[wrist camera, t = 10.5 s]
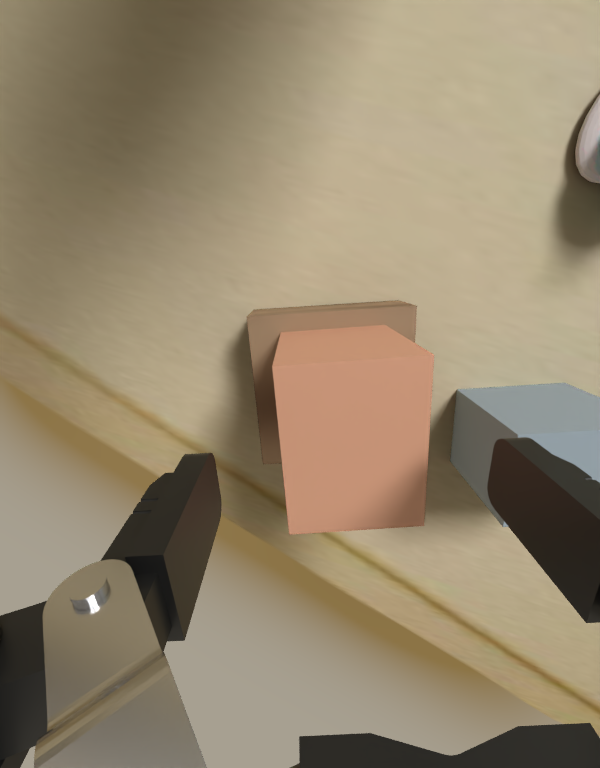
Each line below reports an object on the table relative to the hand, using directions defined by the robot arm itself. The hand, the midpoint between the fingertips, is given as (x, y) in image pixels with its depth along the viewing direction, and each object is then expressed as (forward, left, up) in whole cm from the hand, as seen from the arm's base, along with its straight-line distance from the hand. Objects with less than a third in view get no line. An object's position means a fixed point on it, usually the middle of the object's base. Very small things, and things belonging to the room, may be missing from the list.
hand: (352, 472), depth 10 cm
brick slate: (+4, +11, -11) cm, 16 cm away
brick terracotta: (0, 0, -8) cm, 8 cm away
